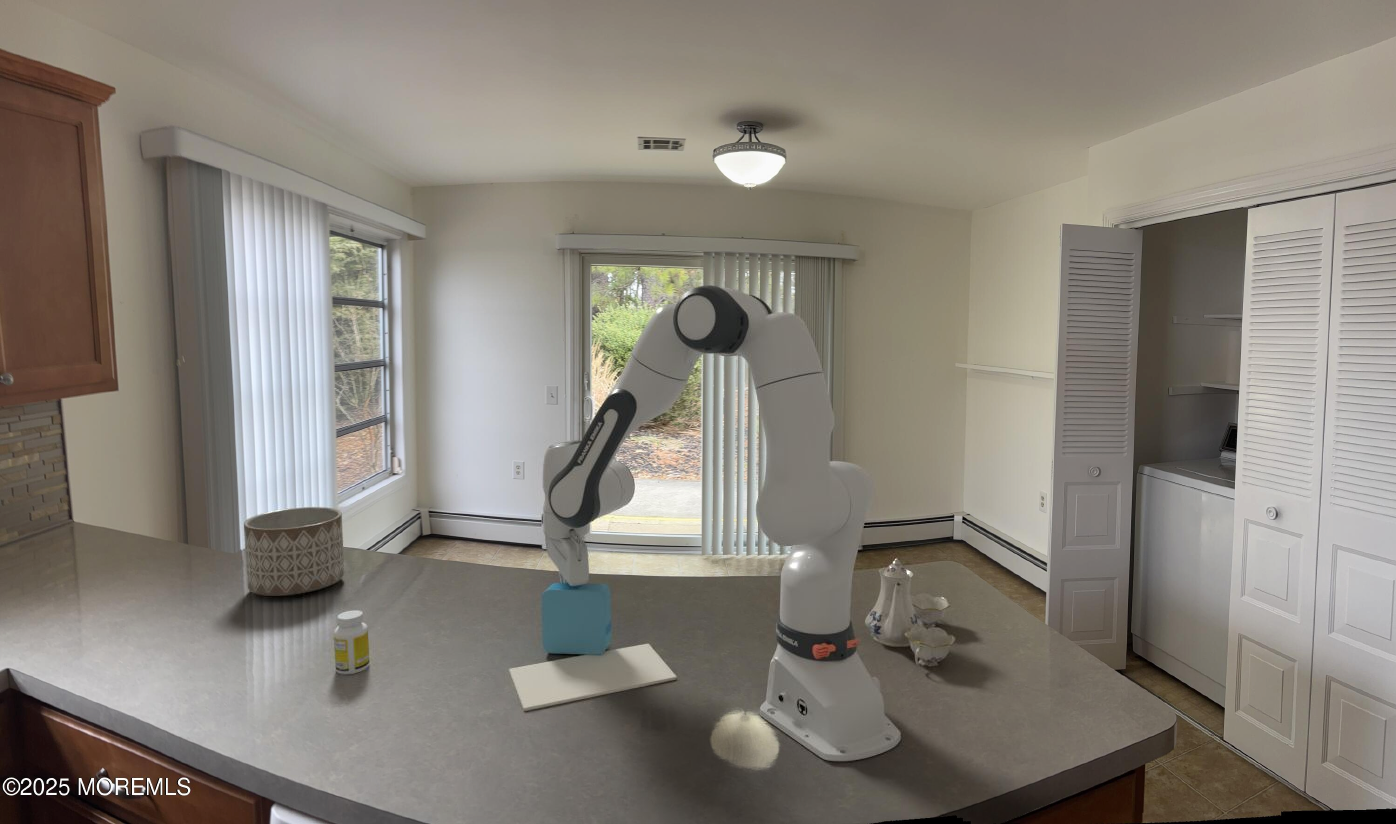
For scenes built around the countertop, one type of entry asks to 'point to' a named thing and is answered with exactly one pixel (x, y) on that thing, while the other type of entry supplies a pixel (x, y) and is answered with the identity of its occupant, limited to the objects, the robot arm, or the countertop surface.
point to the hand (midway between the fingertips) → (567, 592)
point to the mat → (588, 676)
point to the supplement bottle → (351, 643)
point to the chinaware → (909, 617)
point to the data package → (576, 619)
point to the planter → (294, 550)
